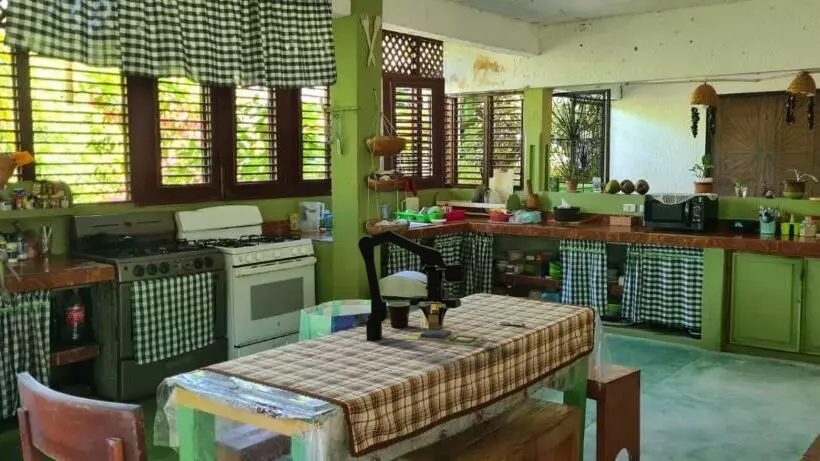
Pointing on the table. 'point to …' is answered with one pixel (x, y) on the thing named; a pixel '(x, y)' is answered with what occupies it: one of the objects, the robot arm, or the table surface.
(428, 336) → the ink pad
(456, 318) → the table surface
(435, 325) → the stamp
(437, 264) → the robot arm
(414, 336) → the station board
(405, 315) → the coffee mug
